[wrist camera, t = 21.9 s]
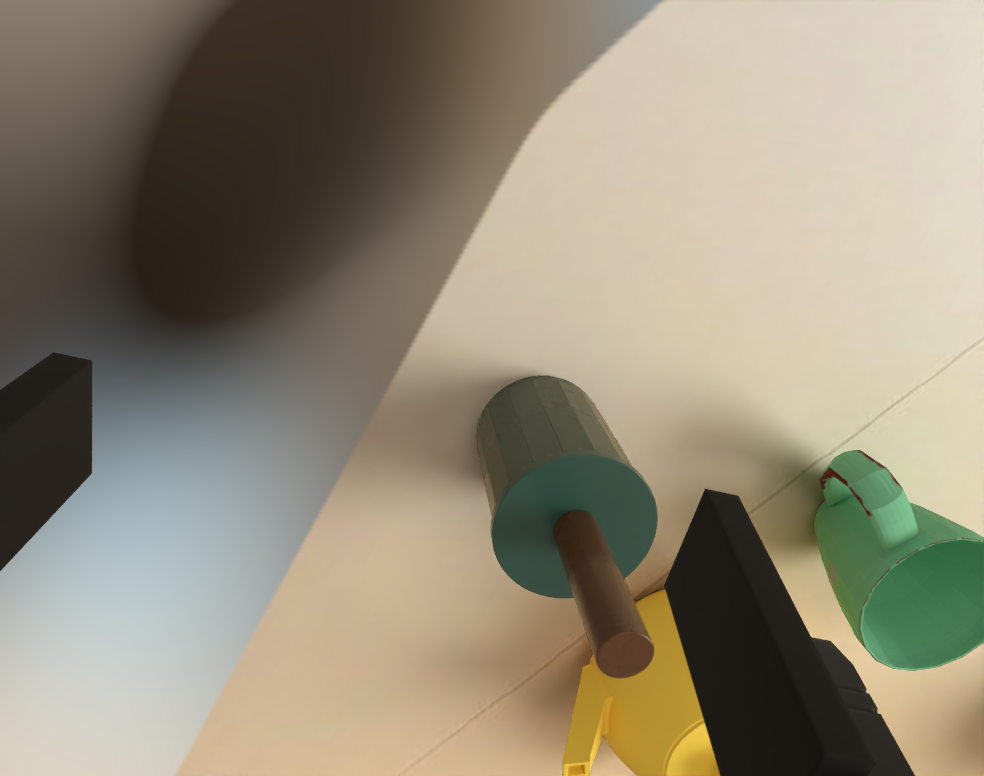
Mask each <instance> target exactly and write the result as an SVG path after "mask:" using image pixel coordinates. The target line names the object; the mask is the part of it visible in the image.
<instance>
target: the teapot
mask: <svg viewBox="0 0 984 776" xmlns="http://www.w3.org/2000/svg"><path fill="white" fill-rule="evenodd" d="M635 605H636V607H637V609H638V611H639V614H640V616H641V618H642V620H643V622H644V625H645V627H646V629H647V631H648V633H649V636H650V638H651V640H652V642H653V645H654V656H653V659H652V661H651V663H650V664H649V666H648V667H647V668H646V669H645V670H643V671H642V672H640V673H639V674H637V675H635V676H632V677H628V678H613V677H610V676H607V675H605V674H604V673H603V672H602V671H601V670H600V669H599V668H598V666H597V664H596V661H595V658H594V655H592V657H591V660H590V664H589V665H586V666H583V670H582V674H581V679H580V684H579V688H578V693H577V697H576V702H575V707H574V711H573V716H572V720H571V725H570V730H569V734H568V739H567V744H566V748H565V753H564V757H563V774H562V775H563V776H590V768H591V766H592V763H593V761H594V758H595V755H596V753H597V750H598V748H599V745H600V742H601V740H602V737H604V738H605V740H606V741H607V743H608V744H609V746H610V747H611V748H612V750H613V751H614V752H615V754H616V755H617V756H618V757H619V758H620V759H621V761H622V762H623V763H624V764H625V765H626V766H627V767H628V768H629V769H630V770H632V771H633V772H634V773H635V774H636V775H637V776H720V773H719V769H718V766H717V763H716V759H715V756H714V753H713V749H712V746H711V742H710V739H709V736H708V732H707V729H706V725H705V722H704V719H703V715H702V712H701V709H700V705H699V702H698V698H697V695H696V692H695V688H694V685H693V681H692V678H691V675H690V671H689V668H688V665H687V661H686V658H685V654H684V651H683V648H682V644H681V641H680V637H679V634H678V631H677V627H676V624H675V621H674V617H673V614H672V610H671V607H670V604H669V600H668V597H667V593H666V590H665V589H664V590H661V591H658V592H655V593H653V594H651V595H648V596H646V597H645V598H643V599H641V600H639V601H638V602H636V603H635Z"/></svg>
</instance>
